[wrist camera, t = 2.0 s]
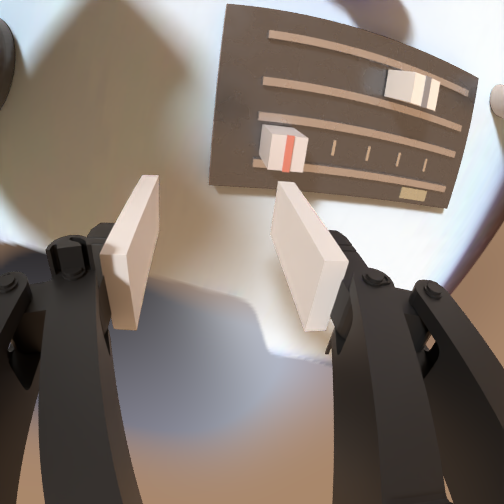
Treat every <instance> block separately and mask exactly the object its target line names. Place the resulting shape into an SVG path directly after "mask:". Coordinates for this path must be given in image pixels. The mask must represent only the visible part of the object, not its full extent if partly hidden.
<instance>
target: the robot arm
mask: <svg viewBox="0 0 504 504" xmlns="http://www.w3.org/2000/svg"><path fill="white" fill-rule="evenodd" d="M14 66H15V47H14V41H13V37H12V34H11V32H10V29H9V28H8V26H7V24H6V23H5V22H4V21H3V20H2V19H1V18H0V109H1V107H2V106H3V104H4V102H5V99H6V97H7V95H8V92H9V89H10V86H11V82H12V78H13V73H14ZM159 231H160V227H159V175H142V176H141V178H140V180H139V182H138V183H137V185H136V187H135V188H134V190H133V192H132V194H131V195H130V197H129V199H128V201H127V202H126V204H125V206H124V208H123V210H122V211H121V213H120V215H119V217H118V219H117V221H116V223H100V224H98V225H97V226H96V227H94V228H93V229H91V231H90V233H89V234H88V236H87V238H86V237H84V236H80V235H69V236H65V237H61V238H59V239H57V240H54V241H53V242H52V243H51V244H49V245H48V247H47V249H46V254H47V258H48V262H49V266H50V270H51V274H52V279H51V280H50V281H47V282H42V283H36V284H30V285H29V283H28V279H27V276H26V275H25V274H24V273H21V272H7V273H5V274H2V275H1V276H0V504H16V499H17V491H18V484H19V477H20V471H21V465H22V460H23V454H24V449H25V445H26V440H27V435H28V431H29V426H30V423H31V419H32V415H33V411H34V406H35V403H36V399H37V396H38V392H39V448H40V463H41V474H42V483H43V492H44V498H45V504H143V503H142V499H141V496H140V493H139V489H138V485H137V482H136V478H135V474H134V470H133V467H132V463H131V458H130V454H129V450H128V445H127V441H126V436H125V431H124V426H123V421H122V416H121V410H120V405H119V400H118V393H117V386H116V380H115V372H114V365H113V357H112V348H111V339H110V334H109V330H108V325H109V321H110V318H111V319H112V323H113V328H114V329H122V330H123V329H124V330H137V327H138V322H139V317H140V311H141V307H142V302H143V297H144V293H145V288H146V283H147V279H148V275H149V271H150V266H151V262H152V258H153V254H154V250H155V246H156V242H157V238H158V234H159ZM270 235H271V238H272V241H273V244H274V247H275V249H276V252H277V255H278V258H279V260H280V263H281V266H282V269H283V272H284V275H285V277H286V280H287V283H288V286H289V289H290V292H291V294H292V297H293V300H294V303H295V306H296V309H297V312H298V314H299V317H300V320H301V323H302V326H303V329H304V332H305V331H326V329H327V326H328V323H329V320H330V318H331V319H332V321H333V323H334V326H335V328H334V330H333V333H332V336H331V338H330V341H329V343H328V346H327V348H326V352H325V354H329V351H330V349H331V348H332V365H333V391H334V392H333V396H334V477H333V504H504V369H503V367H502V365H501V364H500V363H499V361H498V359H497V358H496V356H495V355H494V353H493V352H492V351H491V349H490V348H489V346H488V345H487V343H486V342H485V341H484V339H483V338H482V336H481V335H480V334H479V332H478V331H477V329H476V328H475V327H474V325H473V324H472V323H471V321H470V320H469V319H468V318H467V316H466V315H465V313H464V312H463V311H462V310H461V308H460V307H459V306H458V305H457V303H456V302H455V301H454V299H453V298H452V297H451V296H450V294H449V293H448V292H447V291H446V290H445V289H444V288H443V287H442V286H440V285H439V284H438V283H436V282H433V281H431V280H419V281H417V282H416V283H415V286H414V288H413V290H412V291H409V290H404V289H399V288H395V287H394V284H393V282H392V280H391V279H390V277H388V276H387V275H386V274H385V273H383V272H381V271H379V270H376V269H373V268H368V267H367V265H366V264H365V262H364V261H363V260H362V258H361V257H360V255H359V254H358V253H357V252H356V250H355V248H354V247H353V246H352V244H351V243H350V242H349V240H348V239H347V238H346V237H345V236H344V235H342V234H341V233H340V232H338V231H334V230H328V229H327V228H326V226H325V225H324V224H323V222H322V221H321V219H320V218H319V216H318V215H317V213H316V212H315V211H314V209H313V208H312V206H311V205H310V203H309V202H308V201H307V199H306V198H305V196H304V195H303V194H302V192H301V191H300V190H299V188H298V187H297V185H296V184H295V183H294V182H284V181H278V186H277V192H276V199H275V205H274V212H273V218H272V225H271V231H270ZM431 335H432V336H433V338H434V339H435V341H436V342H435V343H434V345H433V347H432V348H431V349H430V350H429V349H428V348H427V346H426V342H427V341H428V339H429V338H430V336H431ZM10 342H11V345H10V348H9V349H8V347H9V344H10ZM443 476H444V478H445V481H446V484H447V486H448V489H449V492H450V494H451V497H452V500H453V503H451V502H449V500H448V499H447V497H446V493H445V486H444V479H443Z"/></svg>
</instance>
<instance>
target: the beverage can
mask: <svg viewBox="0 0 504 504" xmlns="http://www.w3.org/2000/svg"><path fill="white" fill-rule="evenodd" d="M490 105H491V108H492V110H493V111H494V113H495V114H496V115H497V116H499V117H501V118H504V85H501V84H499V85H496V86H495V87H494V88H493V89H492V91H491V94H490Z"/></svg>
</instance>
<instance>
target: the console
mask: <svg viewBox="0 0 504 504" xmlns="http://www.w3.org/2000/svg"><path fill="white" fill-rule="evenodd" d="M388 70H400V71H410V72H417V73H419V74H422V75H425V76H429V77H432V79H435V80H437V81H439V82H440V87H439V92H438V98H437V103H436V109H435V111H433V110H430V109H427V108H423V107H420V106H416V105H413V104H409V103H406V102H402V101H399V100H396V99H392V98H389V97H385V96H384V94H385V88H386V82H387V76H388ZM478 79H479V78H477V77H475V76H473V75H472V74H470V73H468V72H466V71H464V70H462V69H460V68H458V67H456V66H454V65H452V64H450V63H448V62H446V61H443V60H441V59H439V58H437V57H435V56H432V55H430V54H428V53H426V52H423V51H421V50H418V49H416V48H414V47H411V46H408V45H406V44H403V43H401V42H398V41H395V40H393V39H390V38H387V37H384V36H381V35H378V34H375V33H372V32H369V31H366V30H362V29H359V28H356V27H352V26H349V25H345V24H341V23H338V22H334V21H330V20H326V19H321V18H317V17H313V16H308V15H303V14H298V13H293V12H287V11H281V10H275V9H269V8H261V7H254V6H245V5H235V4H227V5H226V10H225V18H224V26H223V34H222V42H221V50H220V59H219V68H218V78H217V87H216V98H215V108H214V119H213V131H212V143H211V156H210V170H209V185H219V186H238V187H255V188H269V189H277V186H278V181H284V182H294V183H295V184H296V185H297V187H298V188H299V190H300V191H307V192H318V193H329V194H339V195H348V196H357V197H366V198H374V199H383V200H390V201H398V202H406V203H413V204H420V205H427V206H433V207H440V208H446V209H447V207H448V204H449V201H450V198H451V195H452V191H453V188H454V185H455V182H456V178H457V175H458V171H459V168H460V164H461V160H462V157H463V153H464V149H465V145H466V141H467V136H468V132H469V128H470V123H471V118H472V113H473V108H474V103H475V97H476V91H477V85H478ZM262 124H266V125H275V126H284V127H292V128H295V129H296V130H298V131H299V132H300V133H302V134H303V135H305V136H306V137H307V138H308V145H307V150H306V156H305V162H304V168H303V173H301V172H291V171H289V172H282V171H280V170H268V169H267V168H266V166H265V164H264V163H263V161H262V159H261V157H260V156H259V148H260V140H261V132H262Z"/></svg>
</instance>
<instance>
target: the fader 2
mask: <svg viewBox="0 0 504 504" xmlns="http://www.w3.org/2000/svg"><path fill="white" fill-rule="evenodd" d="M439 87H440V82H439V81H437V80H435V79H432V77H429V76H425V75H422V74H419V73H417V72H410V71H400V70H388V76H387V82H386V88H385V94H384V96H385V97H389V98H392V99H396V100H399V101H402V102H406V103H409V104H413V105H416V106H420V107H423V108H427V109H430V110H433V111H435V109H436V103H437V98H438V92H439Z"/></svg>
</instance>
